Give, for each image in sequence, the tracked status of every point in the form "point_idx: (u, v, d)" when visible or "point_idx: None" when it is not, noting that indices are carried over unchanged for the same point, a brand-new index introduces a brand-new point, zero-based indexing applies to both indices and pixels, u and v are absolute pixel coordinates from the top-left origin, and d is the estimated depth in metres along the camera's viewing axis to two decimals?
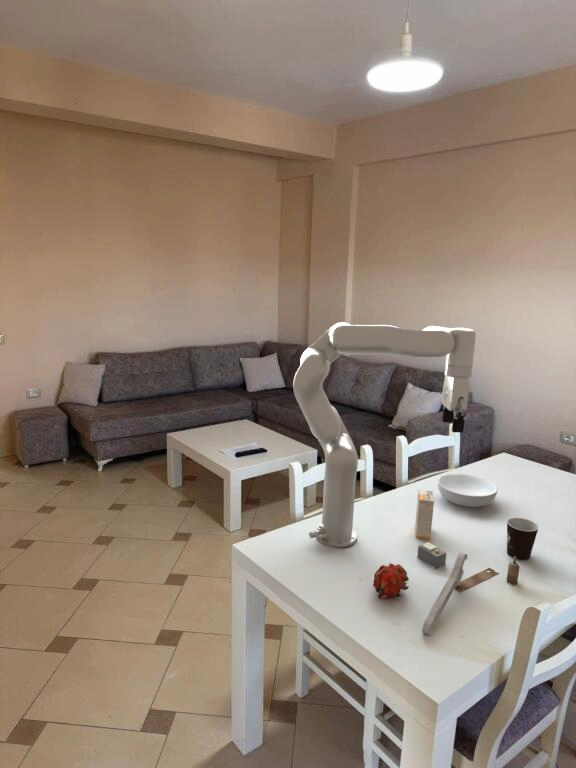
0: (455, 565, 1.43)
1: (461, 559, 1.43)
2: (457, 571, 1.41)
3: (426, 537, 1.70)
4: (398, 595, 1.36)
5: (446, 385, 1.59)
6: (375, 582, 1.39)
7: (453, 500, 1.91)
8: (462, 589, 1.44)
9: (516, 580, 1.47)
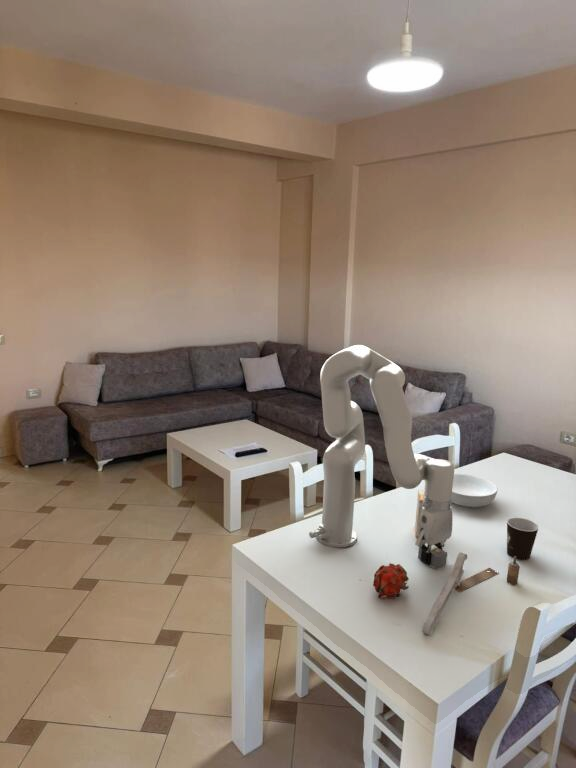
0: (455, 565, 1.43)
1: (461, 559, 1.43)
2: (457, 571, 1.41)
3: None
4: (398, 595, 1.36)
5: (442, 522, 1.52)
6: (375, 582, 1.39)
7: (453, 500, 1.91)
8: (462, 589, 1.44)
9: (516, 580, 1.47)
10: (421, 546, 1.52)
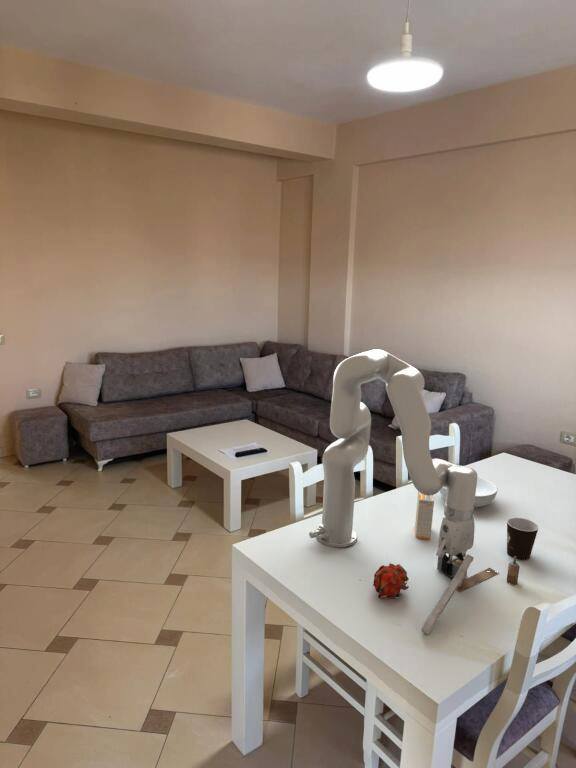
0: (461, 567, 1.42)
1: (468, 562, 1.42)
2: (462, 573, 1.40)
3: (426, 537, 1.70)
4: (398, 595, 1.36)
5: (464, 531, 1.46)
6: (375, 582, 1.39)
7: None
8: (462, 589, 1.44)
9: (516, 580, 1.47)
10: (442, 556, 1.46)
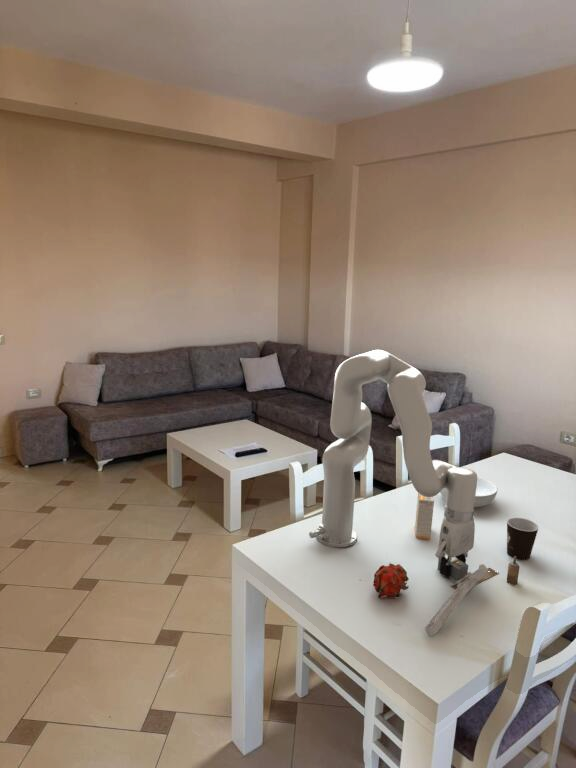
0: (475, 576, 1.40)
1: (483, 574, 1.41)
2: (474, 583, 1.39)
3: (426, 537, 1.70)
4: (398, 595, 1.36)
5: (464, 532, 1.46)
6: (375, 582, 1.39)
7: None
8: None
9: (516, 580, 1.47)
10: (441, 557, 1.46)
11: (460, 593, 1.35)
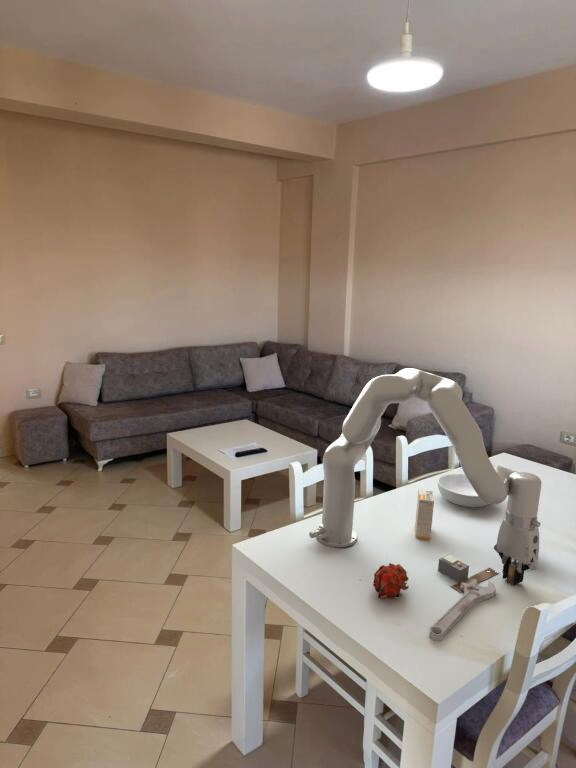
0: (485, 595, 1.39)
1: (491, 596, 1.40)
2: (480, 600, 1.39)
3: (426, 537, 1.70)
4: (398, 595, 1.36)
5: None
6: (375, 582, 1.39)
7: (453, 500, 1.91)
8: None
9: None
10: None
11: (468, 606, 1.35)
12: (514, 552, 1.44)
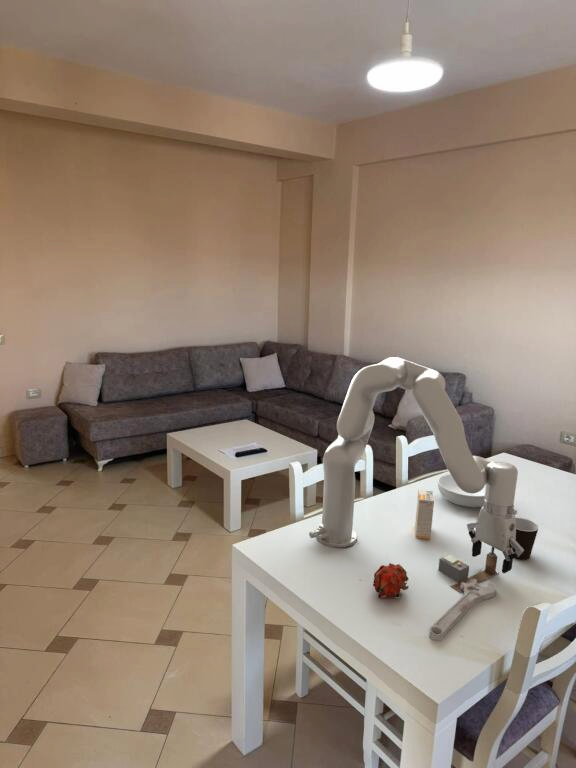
0: (485, 595, 1.39)
1: (491, 596, 1.40)
2: (480, 600, 1.39)
3: (426, 537, 1.70)
4: (398, 595, 1.36)
5: None
6: (375, 582, 1.39)
7: (453, 500, 1.91)
8: None
9: (494, 571, 1.51)
10: None
11: (468, 606, 1.35)
12: (491, 540, 1.48)
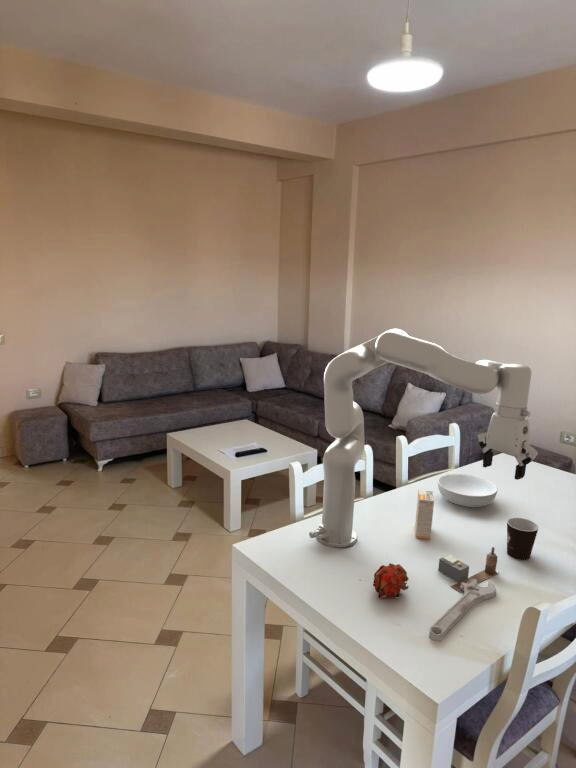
0: (485, 595, 1.39)
1: (491, 596, 1.40)
2: (480, 600, 1.39)
3: (426, 537, 1.70)
4: (398, 595, 1.36)
5: None
6: (375, 582, 1.39)
7: (453, 500, 1.91)
8: None
9: (494, 571, 1.51)
10: None
11: (468, 606, 1.35)
12: (504, 445, 1.42)
